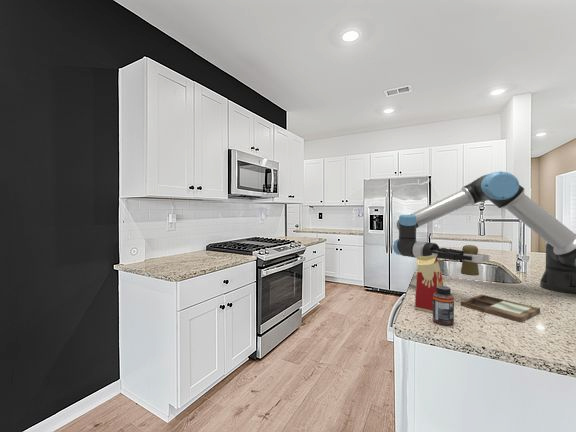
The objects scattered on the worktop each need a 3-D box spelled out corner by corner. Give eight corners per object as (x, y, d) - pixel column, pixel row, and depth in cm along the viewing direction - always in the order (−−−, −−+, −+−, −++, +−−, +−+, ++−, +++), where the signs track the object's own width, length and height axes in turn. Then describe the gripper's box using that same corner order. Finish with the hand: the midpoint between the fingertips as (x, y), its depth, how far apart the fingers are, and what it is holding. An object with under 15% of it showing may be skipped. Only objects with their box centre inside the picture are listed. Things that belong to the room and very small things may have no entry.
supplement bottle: (435, 317, 96) (435, 283, 96) (455, 321, 92) (455, 286, 92) (430, 322, 92) (431, 287, 91) (451, 327, 88) (452, 290, 87)
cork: (476, 272, 113) (477, 244, 112) (481, 276, 107) (481, 246, 107) (459, 271, 115) (459, 244, 114) (462, 274, 109) (463, 246, 109)
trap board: (481, 298, 116) (481, 294, 116) (540, 312, 100) (540, 307, 100) (460, 305, 107) (460, 301, 107) (521, 322, 91) (521, 317, 91)
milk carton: (445, 307, 105) (446, 253, 104) (438, 314, 98) (438, 256, 98) (419, 302, 111) (420, 250, 111) (410, 308, 104) (411, 253, 104)
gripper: (437, 257, 130) (496, 266, 110) (414, 261, 122) (473, 272, 102) (438, 241, 130) (497, 247, 110) (414, 243, 121) (473, 250, 101)
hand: (485, 259), depth 106 cm, fingers closed on cork, 4 cm apart
